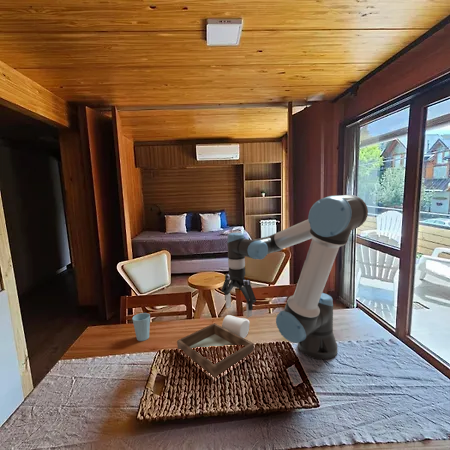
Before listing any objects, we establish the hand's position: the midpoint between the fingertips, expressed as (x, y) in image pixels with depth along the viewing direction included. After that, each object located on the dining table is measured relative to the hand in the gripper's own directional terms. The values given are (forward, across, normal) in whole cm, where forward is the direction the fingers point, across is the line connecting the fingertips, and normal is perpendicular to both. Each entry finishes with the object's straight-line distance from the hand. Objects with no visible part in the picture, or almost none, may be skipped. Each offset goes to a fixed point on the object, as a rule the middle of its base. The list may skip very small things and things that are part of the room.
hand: (238, 311), depth 123 cm
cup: (+10, +29, +34) cm, 46 cm away
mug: (+10, 0, 0) cm, 10 cm away
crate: (+10, -5, +19) cm, 22 cm away
